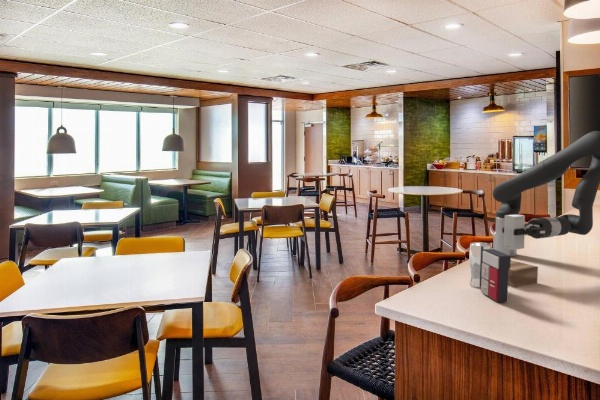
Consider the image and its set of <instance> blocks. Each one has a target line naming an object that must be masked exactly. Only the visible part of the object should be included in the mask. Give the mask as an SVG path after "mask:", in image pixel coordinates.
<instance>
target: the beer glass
mask: <svg viewBox="0 0 600 400" xmlns="http://www.w3.org/2000/svg"><path fill="white" fill-rule="evenodd" d="M484 249H491V244H490V243H488V242H482V241H481V242H480V241H479V242H477V241H476V242H470V244H469V268H470V276H471V277H470V280H469V286H470V285H471V286H470V287H472V286H473V287H472V288H475V287H478V288H477V289H481V279H482V263H483V250H484Z"/></svg>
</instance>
